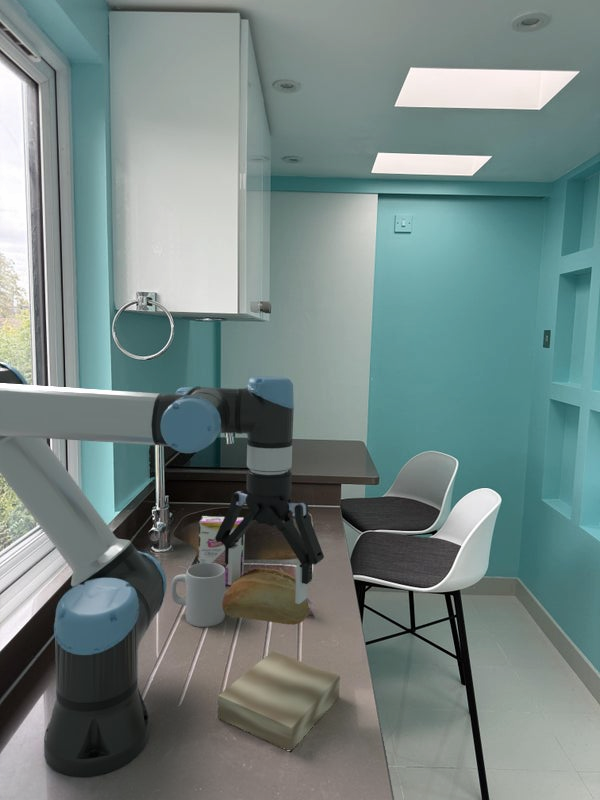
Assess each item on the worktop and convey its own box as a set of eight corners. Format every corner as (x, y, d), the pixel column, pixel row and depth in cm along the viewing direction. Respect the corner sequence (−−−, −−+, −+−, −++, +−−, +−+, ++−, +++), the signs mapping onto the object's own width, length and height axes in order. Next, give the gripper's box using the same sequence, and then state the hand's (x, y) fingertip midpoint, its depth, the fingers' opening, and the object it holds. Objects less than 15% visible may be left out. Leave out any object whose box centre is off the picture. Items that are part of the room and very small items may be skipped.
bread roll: (228, 601, 105) (229, 559, 104) (310, 607, 104) (311, 564, 103) (216, 628, 96) (217, 582, 95) (306, 634, 94) (308, 588, 94)
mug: (228, 610, 131) (229, 563, 130) (219, 629, 123) (220, 579, 122) (177, 605, 132) (177, 559, 131) (164, 624, 124) (165, 575, 123)
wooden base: (290, 752, 87) (291, 727, 87) (217, 718, 94) (218, 695, 94) (338, 697, 101) (339, 675, 101) (272, 671, 108) (272, 651, 108)
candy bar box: (197, 586, 143) (198, 521, 141) (200, 577, 148) (201, 515, 146) (242, 587, 143) (244, 523, 141) (244, 578, 148) (245, 516, 146)
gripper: (346, 475, 94) (341, 599, 97) (222, 456, 106) (220, 568, 108) (326, 485, 88) (321, 618, 90) (196, 463, 99) (195, 582, 102)
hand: (266, 591), depth 99 cm, fingers closed on bread roll, 13 cm apart
